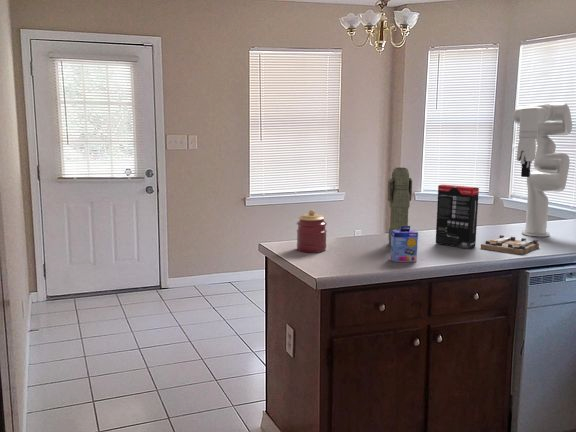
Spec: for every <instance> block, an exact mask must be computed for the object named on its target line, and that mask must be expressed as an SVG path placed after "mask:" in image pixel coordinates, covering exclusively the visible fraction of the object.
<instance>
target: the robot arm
mask: <svg viewBox="0 0 576 432" xmlns="http://www.w3.org/2000/svg"><path fill="white" fill-rule="evenodd" d="M512 119H513V122H514V123H515V124H517V125H519V133H518V139H519V140H518V145H517V153H516V161H518V162H520V165H521V172H520V173H521V174H520V176H521V177H522V178H526V187H527V202H526V203H527V204H526V217H525V218H526V219H525V230H521V234H522V235H524V236H528V237H529V236H530V237H541V238H542V237H549V236H550V232H548V231H547V227H548V226H547V225H548V213H549V198H548V196H547V195H546V194H545V192H556V193H557V192H562V191H564V190H565V189H566V185H567V180H568V176H569V170H570V164H571V162H570V156H569V155H568V154H567V153H563V152H556V148H557V146H556V143H555V142H554V140H553V139H551V137H550V136H568V135H569V134H571V132H572V131H573V130H572V129H573V122H572V121H573V120H572V115H571V110H570V106H569V105H568V104H567V103H565V102H544V103H539V104H532V105H525V106H523V105H522V106H517V107H516V108H515V110H514V111H513V115H512ZM536 144H537V146H536ZM532 163H533V166H534V169H535V171H531V167H532Z"/></svg>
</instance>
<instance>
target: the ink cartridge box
mask: <svg viewBox="0 0 576 432" xmlns="http://www.w3.org/2000/svg"><path fill="white" fill-rule="evenodd" d="M404 227H407V228H408V229H402V228H404ZM418 239H419V232H418V231H417V230H415V229H411V225H408V226H401V230H391V246H390V257H389V258H390V260H391V261H392V262H394V263H416V262H417V256H418Z"/></svg>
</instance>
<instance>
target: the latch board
mask: <svg viewBox="0 0 576 432" xmlns="http://www.w3.org/2000/svg"><path fill="white" fill-rule="evenodd" d="M503 237H505V235H503V234H502V235H501V234H500V235H499V237H498V238H494V239H493V240H496V239H500V238H503ZM510 238H511V240H508V241H505V242H502V243H501V242H498V243H497V244H492V243H490V240H486V241H485V242H483V243H481V244H480V249H481V250H488V251H493V250H495V252H500V251H501V253H508V254H514V255H520V256H523V255H525V254H527V253H529V252H531V251H533V250H534V251H535V250H536V249H538V248H539V247H540V242H539V240H538V239H533V240H532V241H533V243H531V244H528V245H525V246H520V247H512V245H513V243H519V242H522V241H525V240H527V238H524V237H522V238H521V240H518V239H516V237H515V236H510Z"/></svg>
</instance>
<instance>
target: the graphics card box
mask: <svg viewBox="0 0 576 432" xmlns="http://www.w3.org/2000/svg"><path fill="white" fill-rule="evenodd" d="M437 189H438V190H437V203H436V204H437V205H436V206H437V208H436V209H437V211H436V224H435V225H436V228H435V243H436V244H439V245H445V246H450V247H456V248H460V249H461V248H462V249H467V250H470V249H473V248H474V247H475V248H476V241H477V225H478V207H479V192H480V187H475V186H465V185H455V184H454V185H453V184H438V186H437Z"/></svg>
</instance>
